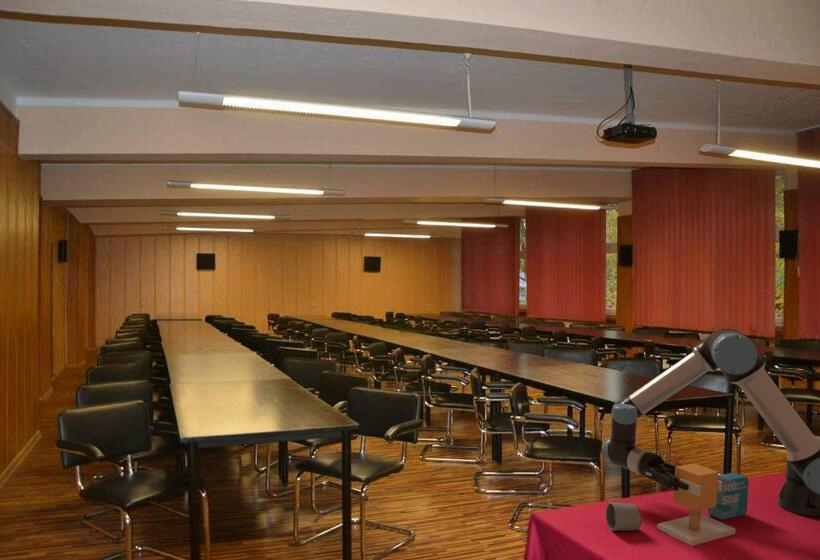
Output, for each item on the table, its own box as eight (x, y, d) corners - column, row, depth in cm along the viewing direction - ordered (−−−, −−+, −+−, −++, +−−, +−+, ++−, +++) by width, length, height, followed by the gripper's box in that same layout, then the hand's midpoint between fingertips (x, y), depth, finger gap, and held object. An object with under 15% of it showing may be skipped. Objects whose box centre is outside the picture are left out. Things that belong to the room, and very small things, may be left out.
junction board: (699, 518, 205) (700, 492, 205) (735, 533, 195) (736, 506, 194) (657, 528, 196) (658, 501, 196) (692, 545, 186) (693, 517, 185)
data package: (719, 521, 204) (721, 481, 203) (706, 515, 208) (709, 476, 207) (747, 514, 209) (749, 476, 208) (734, 509, 213) (736, 471, 212)
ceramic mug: (643, 534, 193) (644, 507, 192) (615, 535, 192) (616, 508, 191) (626, 519, 203) (627, 494, 203) (600, 520, 202) (601, 494, 202)
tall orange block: (692, 496, 199) (694, 463, 198) (716, 506, 192) (718, 471, 191) (673, 501, 195) (675, 466, 194) (696, 511, 188) (699, 475, 187)
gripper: (669, 471, 214) (734, 496, 194) (620, 480, 204) (683, 508, 184) (670, 447, 213) (735, 470, 193) (621, 455, 203) (685, 481, 183)
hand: (710, 488), depth 189 cm, fingers closed on tall orange block, 8 cm apart
